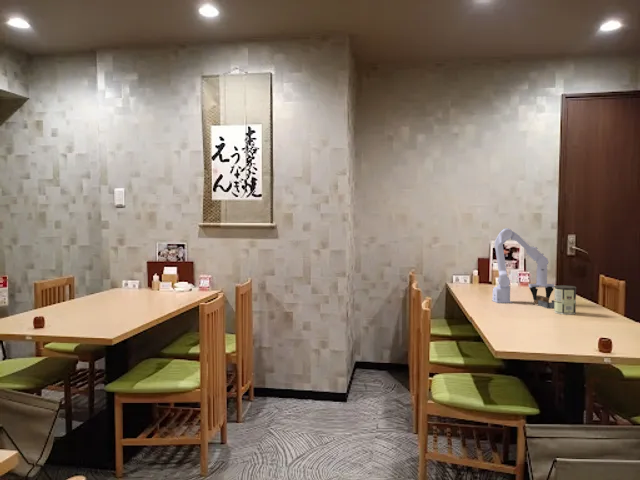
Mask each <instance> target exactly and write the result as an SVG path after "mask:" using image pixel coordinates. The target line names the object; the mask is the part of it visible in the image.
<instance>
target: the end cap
mask: <svg viewBox="0 0 640 480" xmlns="http://www.w3.org/2000/svg"><path fill="white" fill-rule="evenodd" d="M554 303H555V299H552V300H551V302H549V303H548V302H545V301H541V300H538V304H537V305H538V306H539V307H543V308H545V309H554Z"/></svg>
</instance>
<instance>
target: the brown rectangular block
mask: <svg viewBox="0 0 640 480" xmlns="http://www.w3.org/2000/svg"><path fill="white" fill-rule="evenodd" d="M538 300H541V301H545V302H548V303H550V298H547V297H546V296H543V295H540V294H537V299H536V300H533V303H534V304H537V305H538Z"/></svg>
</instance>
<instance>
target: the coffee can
mask: <svg viewBox="0 0 640 480" xmlns="http://www.w3.org/2000/svg"><path fill="white" fill-rule="evenodd" d="M554 301H555V303H554V308H553V309H554V310H553V311H554V312H553V313H555V314H558V315H564V316H567V315H570V316H571V315H572V316H573V315H575V314H576V305H577V303H576V302H577V287H576V286H575V285H565V284H564V285H563V284H561V285H556V284H555V285H554Z"/></svg>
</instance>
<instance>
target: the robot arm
mask: <svg viewBox="0 0 640 480" xmlns="http://www.w3.org/2000/svg"><path fill="white" fill-rule="evenodd" d="M509 240H512V241H515V242H517V243H518V244H519V245H520V246H521V247H522V248H524V250H525V254H526V255H528V256H529V257H530V258H531V259H532V260H533V261H535V263H536V280H535V281H536V283H529V284H528V288H529V290H530V292H531V294H532V299H533V301H534V300H536V299H537V295H538V290H539V288H544V289H545V297H547V298H549V299H550V298H551V295H552V294H553V291H555V287H554V286H555V283H548V265H549V260H548V258H547V257H546V256H545V255H544V253H541V252H540V251H539V250H538V247H537V246H533V245H531V246H530V245H529V244H528V243H527V242H526V240H524V239H523V238H522V237H521V236H520V235H519V234H518V233H516V232H515V231H513V230H512V229H511V228H507V227H506V228H505V227H504V228H503V229H502V230H501V231H499V233H498V235H497V236H496V238H495V240H494V250H495V256H496V262H497V264H496V265H497V270H498V278H497V281H498V285H497V286H496V287H495V286H494V287H493V289H492V299H491V301H492V302H494V303H497V304H502V303H503V304H504V303H505V304H506V303H507V304H508V303H509V304H510V303H511V304H513V303H514V302H513V301H511V286H510V284H511V280H510V278H509V277H508V272H507V265H506V258H505V252H504V244H505V243H506V242H507V241H509Z"/></svg>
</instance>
